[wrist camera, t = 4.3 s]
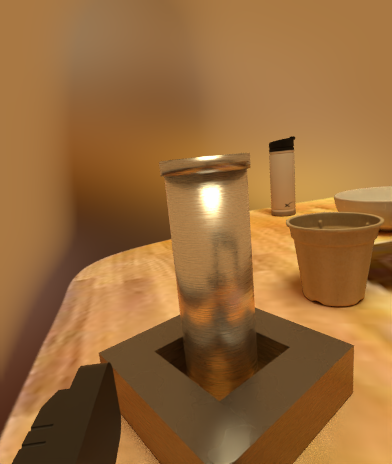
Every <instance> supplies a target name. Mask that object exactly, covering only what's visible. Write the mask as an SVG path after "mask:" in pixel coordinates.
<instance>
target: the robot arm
mask: <svg viewBox="0 0 392 464" xmlns="http://www.w3.org/2000/svg"><path fill="white" fill-rule="evenodd" d="M120 434H121V414H120V407H119V402H118V396H117V390H116V384H115V379H114V373H113V368H112V365H111V363H110V362H107V363H100V364H93V365H85V366H81V367H80V368H79V369H78V371H77V373H76V376H75V378H74V380H73V382H72V385H71V387H70V389H64V390H58V391H57V392H56V393H55V394H54V395H53V396H52V397H51V398H50V399H49V400H48V401H47V402H46V403H45V404H44V405H43V407H42V408H41V409H40V411H39V413H38V415H37V417H36V419H35V421H34V423H33V425H32V426H31V431H29V432H28V434H27V436H26V438H25V440H24V442H23V443H22V448H21V449H19V451H18V453H17V455H16V457H15V459H14V460H13V462H12V464H115V463H116V458H117V452H118V447H119V441H120Z"/></svg>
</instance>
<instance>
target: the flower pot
mask: <svg viewBox="0 0 392 464" xmlns="http://www.w3.org/2000/svg"><path fill="white" fill-rule="evenodd" d="M383 224H384V219H383V218H382V217H379V216H376V215H372V214H366V213H355V212H322V213H312V214H305V215H300V216H295V217H292V218H289V219H288V220H286V225H287V226H288V227H289V228H290V232H291V237H292V238H293V239H294V243H295V248H296V254H297V259H298V265H299V270H300V276H301V282H302V288H303V294H304V295H305V296H306V297H307V298H308V299H309V300H311V301H314V300H316V301H319V302H321V303H322V304H324V305H328V306H350V305H354V304H356V303H357V302H358V301H359V300H361V299H363V298H364V295H365V289H366V283H367V278H368V272H369V267H370V261H371V256H372V250H373V245H374V240H375V239H376V238H377V236H378V232H379V227H380V226H382V225H383Z"/></svg>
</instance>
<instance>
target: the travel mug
mask: <svg viewBox="0 0 392 464" xmlns="http://www.w3.org/2000/svg"><path fill="white" fill-rule="evenodd" d="M294 139H295V137H290V138H287V139H282V140H278V141H274V142H271V143H269V148H270V150H269V154H270V156H269V159H270V184H271V208H272V215H274V216H290V215H294V214H295V213H296V212H295V169H294V147H293V146H294V143H293V140H294Z"/></svg>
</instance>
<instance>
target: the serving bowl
mask: <svg viewBox="0 0 392 464" xmlns="http://www.w3.org/2000/svg"><path fill="white" fill-rule="evenodd" d="M334 200H335V204H336V208H337V210H338V212H355V213H366V214H372V215H376V216H379V217H382V218H383V219H384V224H383V225H382V226H380V227H379V230H383V231H392V186H386V187H372V188H363V189H355V190H349V191H344V192H340V193H338V194H336V195H335V196H334Z"/></svg>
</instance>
